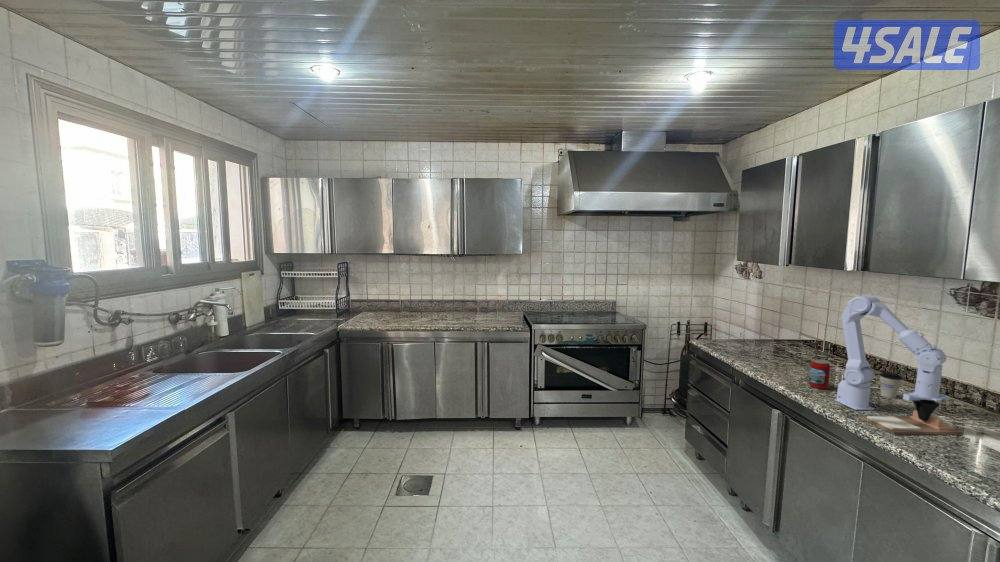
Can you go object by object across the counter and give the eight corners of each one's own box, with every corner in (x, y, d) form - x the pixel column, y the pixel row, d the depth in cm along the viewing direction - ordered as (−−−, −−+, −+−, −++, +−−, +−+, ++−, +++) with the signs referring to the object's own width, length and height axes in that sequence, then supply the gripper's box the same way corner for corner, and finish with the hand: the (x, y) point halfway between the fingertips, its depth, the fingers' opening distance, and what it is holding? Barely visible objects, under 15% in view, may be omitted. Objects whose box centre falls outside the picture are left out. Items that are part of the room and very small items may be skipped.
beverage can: (804, 385, 177) (807, 359, 176) (815, 383, 179) (818, 358, 178) (821, 390, 171) (823, 364, 170) (831, 389, 173) (834, 362, 172)
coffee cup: (887, 393, 170) (890, 370, 168) (904, 399, 163) (907, 376, 162) (872, 393, 169) (874, 370, 168) (888, 399, 162) (891, 376, 161)
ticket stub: (910, 417, 143) (911, 409, 143) (926, 417, 143) (927, 409, 143) (938, 429, 134) (939, 421, 134) (955, 429, 134) (956, 421, 134)
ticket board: (860, 418, 144) (860, 414, 144) (922, 418, 145) (923, 414, 145) (893, 434, 132) (894, 430, 132) (961, 434, 133) (962, 430, 133)
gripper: (920, 387, 133) (915, 425, 134) (961, 387, 133) (956, 425, 135) (898, 379, 140) (894, 415, 141) (937, 379, 140) (932, 416, 142)
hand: (922, 419), depth 138 cm, fingers closed
